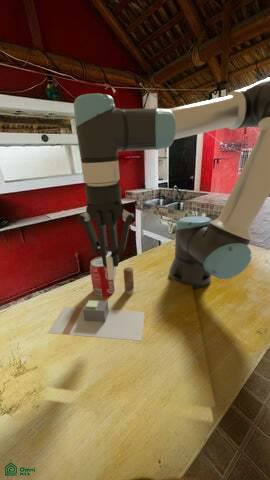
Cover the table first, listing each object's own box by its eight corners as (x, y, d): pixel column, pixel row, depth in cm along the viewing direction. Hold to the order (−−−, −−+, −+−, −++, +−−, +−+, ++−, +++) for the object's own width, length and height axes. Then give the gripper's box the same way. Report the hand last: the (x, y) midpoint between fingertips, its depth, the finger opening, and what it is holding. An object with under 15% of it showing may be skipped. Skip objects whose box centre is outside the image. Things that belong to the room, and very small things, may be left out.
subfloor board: (145, 315, 62) (145, 311, 61) (141, 345, 53) (141, 340, 52) (64, 310, 65) (64, 306, 65) (48, 336, 56) (47, 332, 56)
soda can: (111, 302, 68) (107, 267, 63) (90, 300, 69) (85, 266, 64) (117, 289, 74) (114, 256, 69) (98, 287, 76) (94, 255, 70)
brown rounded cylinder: (134, 292, 72) (133, 267, 68) (133, 298, 69) (132, 272, 65) (126, 292, 72) (124, 267, 68) (124, 297, 70) (122, 272, 66)
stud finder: (108, 311, 62) (107, 299, 60) (105, 322, 58) (103, 309, 56) (89, 310, 63) (87, 298, 61) (84, 320, 59) (82, 308, 57)
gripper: (135, 179, 47) (139, 269, 57) (79, 181, 49) (92, 267, 58) (129, 185, 40) (135, 286, 50) (65, 186, 42) (83, 284, 52)
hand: (112, 276), depth 54 cm, fingers closed
